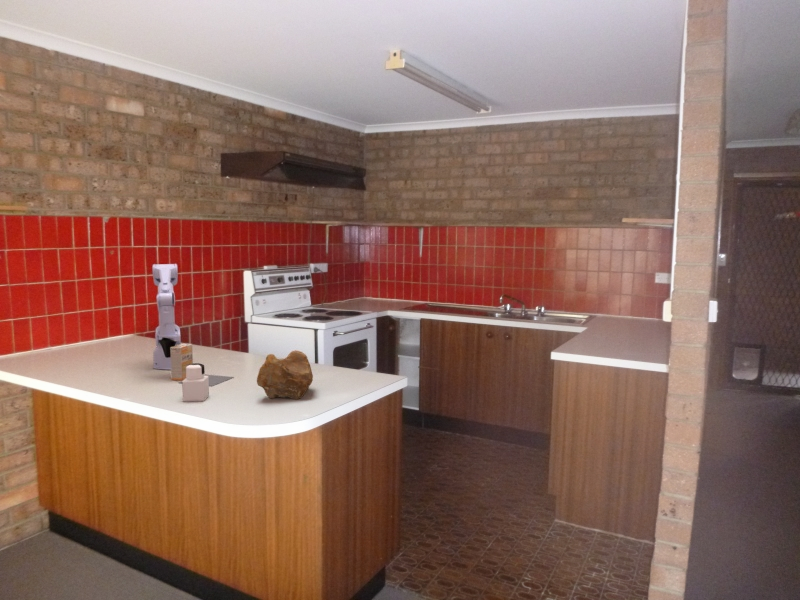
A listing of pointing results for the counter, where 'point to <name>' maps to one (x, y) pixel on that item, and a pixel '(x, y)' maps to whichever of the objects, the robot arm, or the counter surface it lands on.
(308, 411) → the counter surface
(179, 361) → the supplement box
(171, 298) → the robot arm
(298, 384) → the rough brown rock
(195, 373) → the medicine bottle
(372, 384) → the counter surface
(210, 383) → the mat
